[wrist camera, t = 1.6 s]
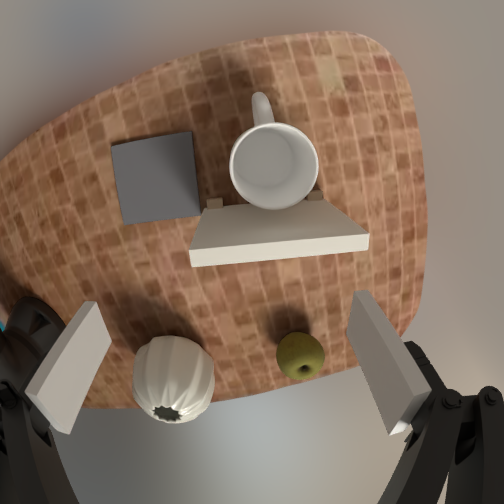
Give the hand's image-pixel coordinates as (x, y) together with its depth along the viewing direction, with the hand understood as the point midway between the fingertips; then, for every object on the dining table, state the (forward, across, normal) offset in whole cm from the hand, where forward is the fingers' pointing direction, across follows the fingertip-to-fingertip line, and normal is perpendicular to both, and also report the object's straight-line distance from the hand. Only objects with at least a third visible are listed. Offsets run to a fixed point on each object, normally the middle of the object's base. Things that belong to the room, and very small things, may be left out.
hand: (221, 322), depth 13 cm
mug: (+25, +4, +7) cm, 26 cm away
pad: (+24, -10, +4) cm, 27 cm away
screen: (+25, +4, -1) cm, 25 cm away
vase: (+24, -12, -26) cm, 38 cm away
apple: (+25, +9, -25) cm, 36 cm away
